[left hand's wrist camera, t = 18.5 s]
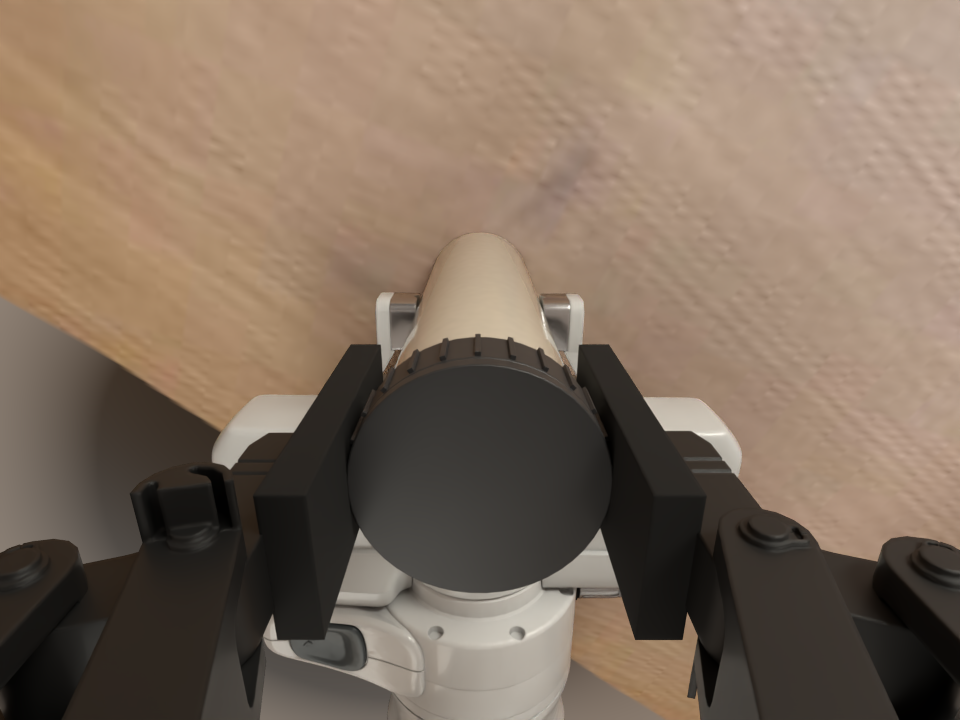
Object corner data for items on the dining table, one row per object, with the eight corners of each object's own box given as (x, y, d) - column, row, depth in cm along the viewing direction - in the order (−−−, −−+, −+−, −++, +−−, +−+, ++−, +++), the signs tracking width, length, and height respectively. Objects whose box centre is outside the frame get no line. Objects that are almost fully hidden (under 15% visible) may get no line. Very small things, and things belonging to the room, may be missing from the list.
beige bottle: (535, 316, 28) (610, 545, 12) (444, 334, 28) (396, 581, 12) (518, 222, 26) (578, 342, 10) (421, 243, 26) (334, 389, 10)
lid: (518, 282, 11) (524, 303, 9) (643, 477, 12) (666, 522, 11) (308, 415, 12) (284, 454, 10) (448, 580, 13) (444, 634, 12)
